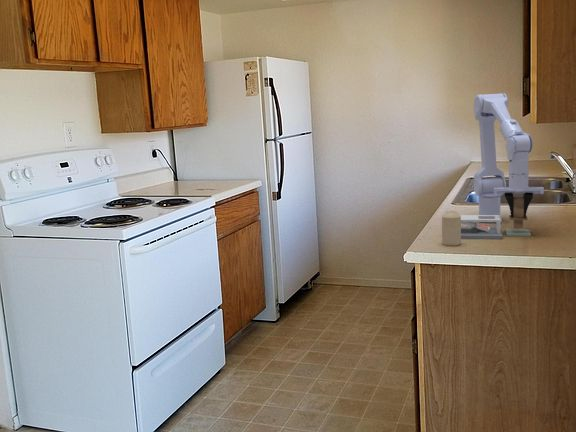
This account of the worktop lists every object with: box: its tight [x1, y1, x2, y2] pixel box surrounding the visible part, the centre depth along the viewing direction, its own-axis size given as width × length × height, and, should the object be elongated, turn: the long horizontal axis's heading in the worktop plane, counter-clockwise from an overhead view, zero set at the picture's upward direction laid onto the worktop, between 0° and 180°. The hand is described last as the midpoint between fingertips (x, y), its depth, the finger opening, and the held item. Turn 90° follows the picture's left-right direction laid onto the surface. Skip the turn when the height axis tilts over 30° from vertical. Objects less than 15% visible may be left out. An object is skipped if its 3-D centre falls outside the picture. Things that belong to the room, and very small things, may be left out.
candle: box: [441, 210, 462, 247], centre depth 184 cm, size 6×6×10 cm
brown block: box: [509, 196, 528, 229], centre depth 192 cm, size 5×5×10 cm
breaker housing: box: [459, 214, 504, 240], centre depth 196 cm, size 14×16×5 cm
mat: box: [505, 228, 532, 237], centre depth 193 cm, size 7×7×1 cm
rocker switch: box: [461, 222, 490, 232], centre depth 195 cm, size 4×9×1 cm, turn 73°
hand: (518, 216), depth 192 cm, fingers closed on brown block, 3 cm apart
